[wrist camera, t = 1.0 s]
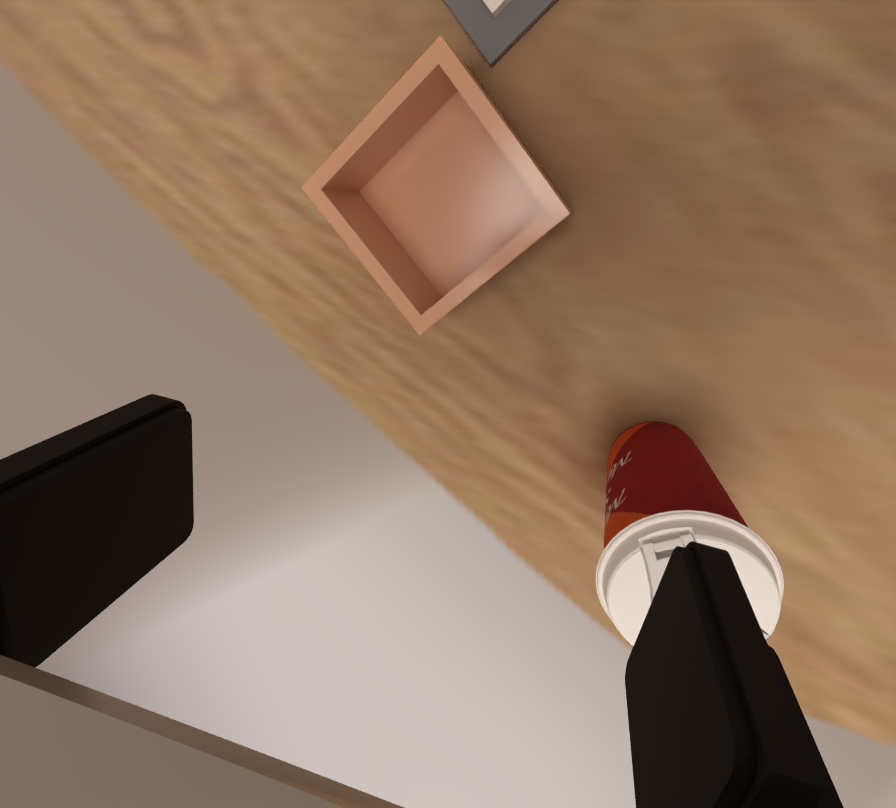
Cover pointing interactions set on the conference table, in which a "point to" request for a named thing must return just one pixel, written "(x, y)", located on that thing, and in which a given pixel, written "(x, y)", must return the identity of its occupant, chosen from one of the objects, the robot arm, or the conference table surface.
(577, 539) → the conference table surface
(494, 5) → the cover
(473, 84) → the open box
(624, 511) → the paper cup
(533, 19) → the mat
